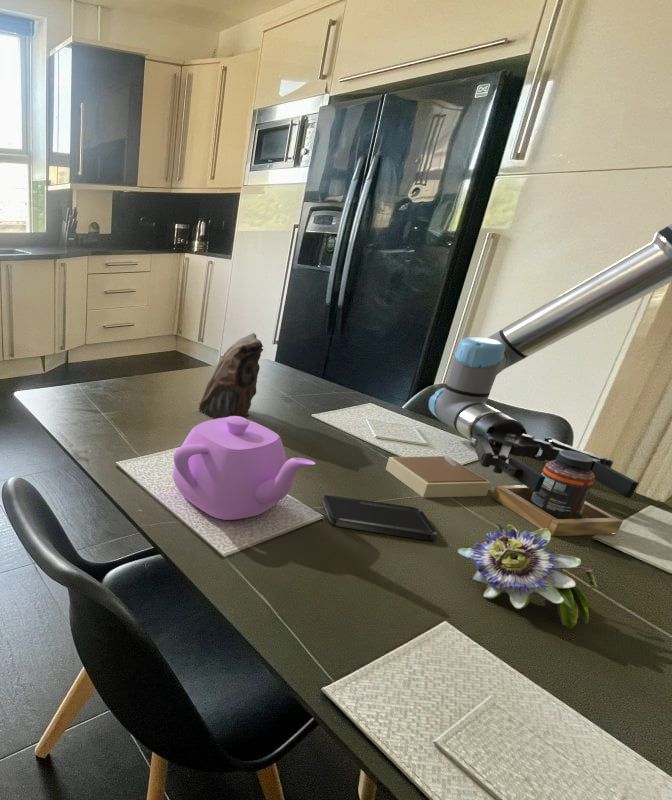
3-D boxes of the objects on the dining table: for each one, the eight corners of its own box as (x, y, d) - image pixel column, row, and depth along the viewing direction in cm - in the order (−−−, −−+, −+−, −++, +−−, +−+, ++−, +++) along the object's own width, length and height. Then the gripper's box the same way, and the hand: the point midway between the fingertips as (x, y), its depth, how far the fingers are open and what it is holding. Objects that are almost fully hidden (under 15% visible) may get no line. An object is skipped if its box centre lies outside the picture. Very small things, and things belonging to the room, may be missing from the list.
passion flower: (477, 629, 66) (436, 544, 67) (524, 593, 69) (484, 513, 71) (581, 650, 55) (530, 549, 56) (630, 606, 59) (581, 512, 60)
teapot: (140, 491, 86) (146, 414, 81) (227, 465, 96) (238, 394, 90) (234, 571, 68) (251, 477, 62) (332, 529, 77) (354, 444, 71)
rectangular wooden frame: (548, 496, 87) (553, 484, 86) (616, 534, 77) (623, 521, 76) (491, 497, 86) (496, 485, 85) (552, 536, 76) (558, 523, 75)
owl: (240, 405, 125) (252, 330, 118) (270, 425, 114) (285, 343, 107) (196, 409, 123) (205, 332, 115) (221, 430, 111) (233, 345, 104)
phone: (439, 536, 74) (332, 519, 77) (437, 542, 74) (330, 525, 78) (420, 507, 81) (322, 493, 84) (418, 513, 81) (321, 498, 85)
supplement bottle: (565, 510, 83) (592, 451, 79) (581, 529, 78) (611, 467, 74) (521, 501, 85) (545, 444, 81) (534, 519, 80) (561, 459, 76)
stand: (442, 468, 96) (447, 454, 95) (486, 496, 87) (491, 481, 86) (385, 469, 95) (389, 456, 94) (423, 497, 86) (427, 483, 85)
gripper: (551, 450, 96) (661, 513, 76) (419, 442, 98) (492, 501, 78) (566, 416, 93) (684, 471, 73) (430, 408, 95) (508, 460, 76)
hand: (585, 487), depth 76 cm, fingers open, 12 cm apart
